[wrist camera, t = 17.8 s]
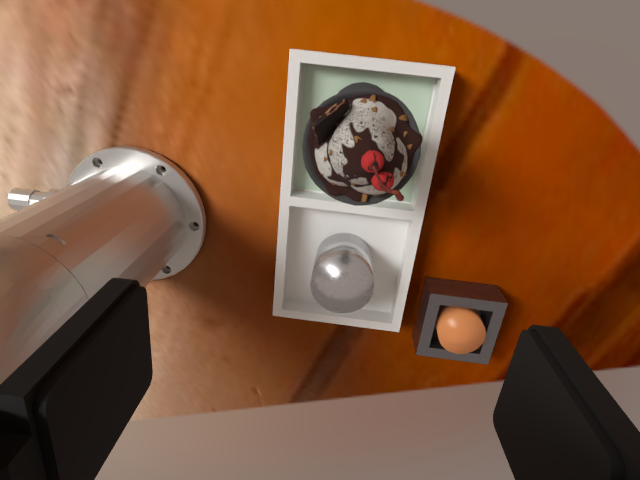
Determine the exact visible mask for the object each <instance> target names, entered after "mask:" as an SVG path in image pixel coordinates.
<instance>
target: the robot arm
mask: <svg viewBox="0 0 640 480" xmlns="http://www.w3.org/2000/svg"><path fill="white" fill-rule="evenodd" d="M163 166H164V167H165V169H166V170H164V169H163ZM8 204H9V206H10V208H11V209H13V210H17V212H15V213H12V214H10V215H8V216H6V217H4V218H2V219H0V480H94V479H95V477H96V476H97V474H98V472H99V471H100V469H101V467H102V465H103V464H104V462H105V460H106V459H107V457H108V455H109V454H110V452H111V450H112V449H113V447H114V445H115V443H116V442H117V440H118V438H119V437H120V435H121V433H122V432H123V430H124V428H125V427H126V425H127V423H128V422H129V420H130V418H131V417H132V415H133V413H134V411H135V410H136V408H137V406H138V405H139V403H140V401H141V400H142V398H143V396H144V395H145V393H146V391H147V390H148V388H149V386H150V383H151V380H152V358H151V344H150V331H149V318H148V304H147V292H146V289H145V288H146V286H147V285H148V284H149V283H150V282H151V281H152V280H157V279H164V278H167V277H170V276H173V275H175V274H176V273H178V272H180V271H182V270H183V269H184V268H185V267H187V266H188V265H189V264H190V263H191V262H192V261H193V259H194V258H195V257H196V255H197V254H198V252H199V250H200V248H201V246H202V244H203V241H204V237H205V234H206V216H205V210H204V206H203V203H202V200H201V198H200V195H199V193H198V192H197V190H196V188H195V186H194V185H193V183H192V182H191V181H190V179H189V178H188V177H187V176H186V174H185V173H184V172H183V171H182V170H181V169H179V168H178V167H177V166H176V165H175V164H174V163H173V162H171V161H169V160H168V159H166V158H165V157H163V156H161V155H160V154H157V153H155V152H152V151H150V150H148V149H144V148H139V147H134V146H115V147H110V148H106V149H103V150H100V151H98V152H95V153H93V154H92V155H90V156H88V157H86V158H85V159H84V160H83V161H81V162H80V163H79V164H78V165H77V166H76V167H75V169H74V171H73V172H72V174H71V175H70V177H69V180H68V183H67V186H66V187H65V188H63V189H60V190H59V189H51V190H49V191H48V192H47V193H46V192H40V191H37V190H30V189H22V188H14V189H12V190H11V192H10V193H9V196H8ZM195 222H196V223H198V225H197V224H196V223H195ZM493 423H494V427H495V430H496V432H497V435H498V437H499V440H500V442H501V445H502V448H503V450H504V453H505V455H506V458H507V460H508V463H509V465H510V468H511V470H512V472H513V475H514V478H515V480H640V432H639V431H638V429H637V428H636V427H635V426H634V424H633V423H632V422H631V421H630V419H629V418H628V417H627V415H626V414H625V413H624V412H623V410H622V409H621V408H620V406H619V405H618V404H617V402H616V401H615V400H614V399H613V397H612V396H611V395H610V393H609V392H608V391H607V389H606V388H605V387H604V386H603V384H602V383H601V382H600V381H599V379H598V378H597V377H596V375H595V374H594V373H593V371H592V370H591V369H590V368H589V366H588V365H587V364H586V362H585V361H584V360H583V359H582V357H581V356H580V355H579V353H578V352H577V351H576V350H575V348H574V347H573V346H572V344H571V343H570V342H569V340H568V339H567V338H566V337H565V335H564V334H563V333H562V331H561V330H560V329H559V328H556V327H548V326H539V325H532V326H530V327H529V328H528V330H523V331H522V332H521V334H520V337H519V339H518V342H517V345H516V348H515V351H514V354H513V357H512V360H511V363H510V366H509V369H508V372H507V375H506V377H505V380H504V383H503V387H502V389H501V392H500V395H499V398H498V401H497V404H496V407H495V410H494V414H493Z"/></svg>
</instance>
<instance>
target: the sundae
mask: <svg viewBox="0 0 640 480" xmlns="http://www.w3.org/2000/svg"><path fill="white" fill-rule="evenodd" d="M422 140H423V138H422V135H421V133H420V132H419V129H418V126H417V123H416V121H415V119H414V117H413V115H412V113H411V111H410V110H409V109H408V108H407V106H406V105H405V104H404V103H403V102H402V101H401V100H399V99H398V98H397V97H395V96H393V95H391V94H390V93H387V92H384V91H383V90H382V89H381V88H379V87H378V86H376V85H374V84H371V83H366V82H358V83H353V84H350V85H348V86H346V87H345V88H343V89H342V90H340V91H339V92H338V94H336V95H334V96H332V97H330V98H329V99H327V100H325V101H323V102H322V103H321V104H320V105H319V106H318V107H317V108H314V109H312V110H311V112H310V118H309V120H308V122H307V124H306V128H305V131H304V136H303V142H302V153H303V160H304V164H305V168H306V170H307V172H308V174H309V176H310V178H311V179H312V180H313V182H314V183H315V185H317V186H318V187H319V188H320V189H321V190H322V191H323V192H325V193H326V194H327V195H329V196H330V197H332V198H334V199H335V200H338V201H340V202H343V203H346V204H350V205H354V206H363V205H372V204H377V203H379V202H382V201H384V200H386V199H388V198H390V197H391V196H393V195H395V197H396V199H397V200H398V201H400V202H401V201H403V199H404V196H403V195H402V194H401V192H400V191H399V190H401V189H402V188H403V187H404V186H405V185H406V183H407V182H408V181H409V180H410V179H411V177H412V176H413V174H414V172H415V170H416V168H417V165H418V162H419V159H420V156H421V143H422Z"/></svg>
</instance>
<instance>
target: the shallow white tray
mask: <svg viewBox="0 0 640 480" xmlns="http://www.w3.org/2000/svg"><path fill="white" fill-rule="evenodd" d="M455 68H456V67H452V66H446V65H437V64H428V63H419V62H410V61H401V60H392V59H383V58H373V57H364V56H355V55H346V54H337V53H328V52H319V51H310V50H301V49H290V52H289V68H288V83H287V99H286V114H285V130H284V145H283V161H282V176H281V192H280V207H279V223H278V238H277V253H276V269H275V284H274V300H273V315H272V316H279V317H287V318H294V319H302V320H310V321H317V322H325V323H333V324H340V325H348V326H356V327H363V328H371V329H379V330H386V331H394V332H399V330H400V326H401V321H402V316H403V312H404V307H405V302H406V298H407V293H408V288H409V283H410V279H411V274H412V269H413V265H414V260H415V255H416V251H417V246H418V241H419V237H420V232H421V227H422V222H423V218H424V213H425V208H426V204H427V199H428V194H429V190H430V185H431V180H432V176H433V171H434V166H435V162H436V157H437V152H438V147H439V143H440V138H441V133H442V129H443V124H444V119H445V115H446V110H447V105H448V101H449V96H450V91H451V86H452V82H453V77H454V72H455ZM358 82H366V83H371V84H374V85H376V86H378V87H379V88H381V89H382V90H383V91H384V92H387V93H390V94H391V95H393V96H395V97H397V98H398V99H399V100H401V101H402V102H403V103H404V104H405V105H406V106H407V108H408V109H409V110H410V111H411V113H412V115H413V117H414V119H415V121H416V123H417V126H418V129H419V132H420V133H421V135H422V138H423V140H422V143H421V156H420V159H419V162H418V165H417V168H416V170H415V172H414V174H413V176H412V177H411V179H410V180H409V181H408V182H407V183H406V185H405V186H404V187H403V188H402V189H401V190H399V191H400V192H401V194H402V195H403V196H404V199H403V201H401V202H400V201H398V200H397V199H396V197H395V195H393V196H391V197H390V198H388V199H386V200H384V201H382V202H379V203H377V204H372V205H363V206H354V205H350V204H346V203H343V202H340V201H338V200H335V199H334V198H332V197H330V196H329V195H327V194H326V193H325V192H323V191H322V190H321V189H320V188H319V187H318V186H317V185H315V183H314V182H313V180H312V179H311V178H310V176H309V174H308V172H307V170H306V168H305V164H304V160H303V153H302V142H303V136H304V131H305V128H306V124H307V122H308V120H309V118H310V112H311V110H312V109H314V108H317V107H318V106H319V105H320V104H321V103H322V102H323V101H325V100H327V99H329V98H330V97H332V96H334V95H336V94H338V92H339V91H340V90H342V89H343V88H345V87H346V86H348V85H350V84H353V83H358ZM336 233H351V234H354V235H357V236H359V237H360V238H362V239H363V240H364V241H365V242H366V243H367V244H368V246H369V248H370V250H371V253H372V265H373V280H374V291H373V295H372V297H371V299H370V300H369V302H368V303H367V304H366V305H365V306H364V307H362V308H361V309H359V310H357V311H354V312H351V313H335V312H331V311H329V310H327V309H325V308H323V307H322V306H320V305H319V304H318V303H317V301H316V300H315V299H314V297H313V295H312V292H311V287H310V282H311V277H312V272H313V267H314V262H315V257H316V253H317V249H318V247H319V245H320V244H321V242H322V241H323V240H324V239H326V238H327V237H329V236H331V235H333V234H336Z"/></svg>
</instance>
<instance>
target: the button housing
mask: <svg viewBox="0 0 640 480" xmlns="http://www.w3.org/2000/svg"><path fill="white" fill-rule="evenodd" d="M443 305H445V306H453V307H461V308H468V309H476V310H477V312H478V314H479V316H480V318H481V321H482V323H483V325H484V327H485V330H486V337H485V340H484V342H483V344H482V345H481V346H480V347H479V348H478V349H476V350H474V351H472V352H470V353H466V354H456V353H452V352H449V351H447V350H446V349H445V348H444V347H443V346H442V345H441V343H440V341H439V338H438V334H437V331H436V327H435V322H436V318H437V314H438V310H439V308H440V307H442V306H443ZM507 305H508V302H507V301H506V299H505V297H504V296H503V294H502V292H501V290H500V289H499V287H498V286H496V285H488V284H480V283H472V282H464V281H456V280H448V279H440V278H432V277H425V281H424V286H423V290H422V295H421V299H420V303H419V308H418V312H417V316H416V321H415V325H414V329H413V334H412V337H413V342H414V347H415V353H416V355H421V356H428V357H436V358H443V359H451V360H458V361H466V362H473V363H481V364H488V363H489V360H490V357H491V354H492V351H493V348H494V345H495V342H496V339H497V336H498V333H499V330H500V327H501V324H502V321H503V317H504V314H505V311H506V308H507Z"/></svg>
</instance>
